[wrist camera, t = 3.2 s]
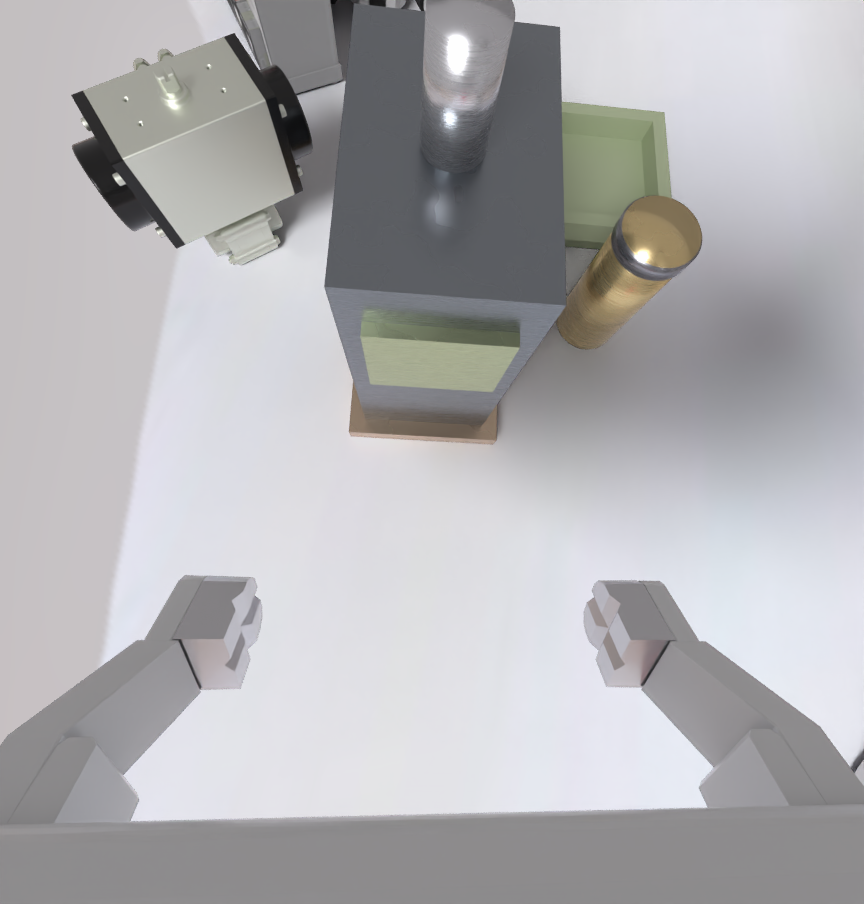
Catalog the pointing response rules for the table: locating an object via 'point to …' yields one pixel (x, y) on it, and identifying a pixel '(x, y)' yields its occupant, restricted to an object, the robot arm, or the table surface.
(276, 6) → the upright grey panel
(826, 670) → the table surface
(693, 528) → the table surface
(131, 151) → the pneumatic valve
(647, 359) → the table surface
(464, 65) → the mounted unit
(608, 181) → the olive tray
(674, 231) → the cartridge
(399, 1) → the robot toy
